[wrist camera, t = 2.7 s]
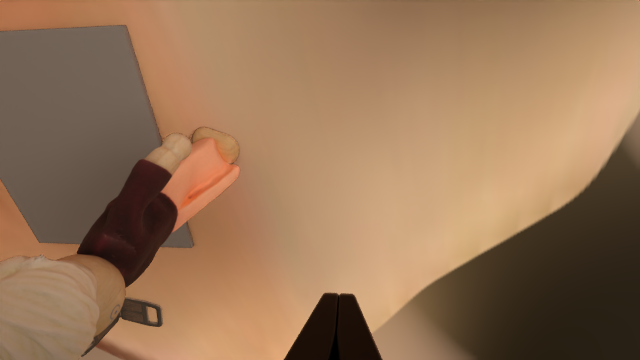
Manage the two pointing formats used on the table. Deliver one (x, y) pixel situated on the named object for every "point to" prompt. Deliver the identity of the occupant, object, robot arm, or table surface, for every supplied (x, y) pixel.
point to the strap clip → (131, 317)
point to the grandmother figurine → (110, 250)
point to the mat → (72, 126)
